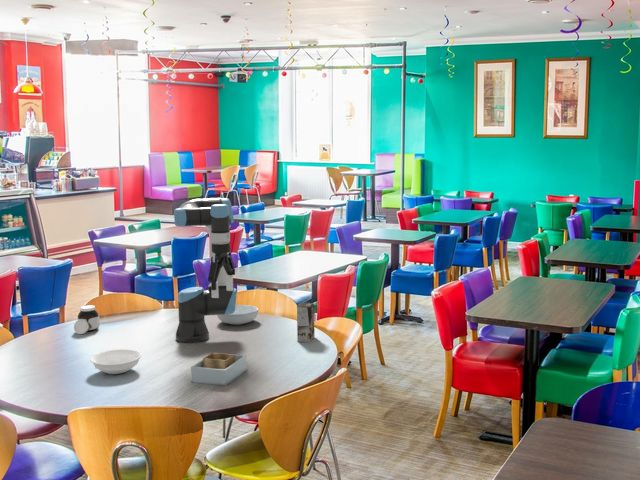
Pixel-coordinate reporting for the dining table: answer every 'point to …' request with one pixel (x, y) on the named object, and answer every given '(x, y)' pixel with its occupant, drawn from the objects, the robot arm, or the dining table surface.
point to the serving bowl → (240, 315)
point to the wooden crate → (218, 361)
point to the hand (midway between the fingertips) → (222, 294)
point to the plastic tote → (219, 372)
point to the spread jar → (87, 320)
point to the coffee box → (305, 322)
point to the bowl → (116, 361)
